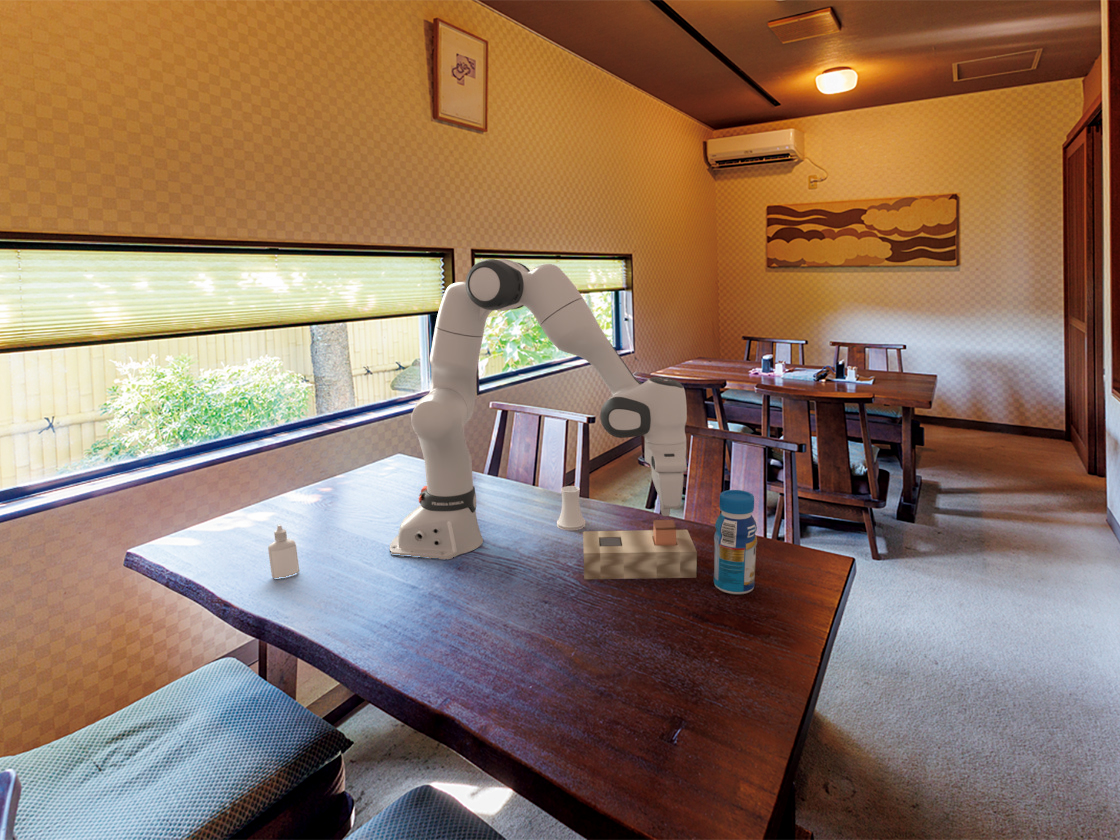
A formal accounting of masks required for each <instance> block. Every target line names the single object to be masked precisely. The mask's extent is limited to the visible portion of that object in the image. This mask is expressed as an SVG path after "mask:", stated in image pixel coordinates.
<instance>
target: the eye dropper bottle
mask: <svg viewBox="0 0 1120 840" xmlns="http://www.w3.org/2000/svg"><path fill="white" fill-rule="evenodd" d="M273 535H274V541H273V542H272V543H270V544H269V545H268V548H267V550H268V559H269V566H270V571H271V577H272V579H273V578H279V577H286V576H289V575H293V574H295V573H298V572H299V573H300V564H299V559H298V550H297V544H296V542H295V540H294V539H291V538H288V535H287V530H286V529H283V527H282V525H281V524H279V525H277V529H276V530H274V533H273ZM299 573H298V574H299Z"/></svg>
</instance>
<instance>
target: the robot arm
mask: <svg viewBox="0 0 1120 840" xmlns="http://www.w3.org/2000/svg"><path fill="white" fill-rule="evenodd" d="M563 271H564V270H562V269H561V268H560V267H558V265H555V264H553V263H547V264H545V263H543V264H541V265H538V266H535V267H534V268H533V269H532V270H531V269H529V268H528V267H527V266H526V265H524V264H523V263H521V262H517V261H513V260H509V259H504V258H503V259H502V258H501V259H500V258H499V259H494V258H488V259H483V260H481V261H479V262H477V263H475V264H474V265H473V266H472V267H471V268H470V269H469V271H468V273H467V274H466V278H465V281H457V282H454V283H451V284H449V285H448V286H447V288H446V289H445V291H444V293H443V296H442V300H441V302H440V304H439V309H438V313H437V315H436V316H437V317H436V321H435V326H434V331H433V337H432V343H431V350H430V355H429V364H430V368H431V371H430V373H431V374H430V375H431V376H430V377H431V378H430V379H431V381H430V382H431V383H430V390H429V392H428V394H426V395H425V396H423V397H421V398H420V399H419V400H418V401H417V402H416V405H415V406H414V408H413V410H412V413H411V417H410V424H411V427H412V429H413V432H414V434H416V435H417V438H418V441H419V446H420V448H421V452H422V455H423V461H424V469H425V479H426V481H425V482H426V485H424V486H423V487H422V489H420V493H419V495H418V496H419V497H418V503H419V505H418V506H417V507H416V508H414V510H412V511H411V512H410V513H408V515H407V516H406V517H404V519H403V520H402V521H401V523H400V526H399V530H398V535H396V536H395V537H394V538H393V539H392V541H391V543H390V546H389V552H390V551H391V553H392V554H400V555H411V556H420V557H429V558H428V559H431V558H439V559H438V560H445V559H447V560H451V559H453V557H454V558H456V557H457V556H459V555H462V554H467V553H469V552H472V551H474V550H476V549H478V548H479V547H481V545H483V543H484V539H483V536H482V533H481V531H480V527H479V522H478V517H477V512H476V511H477V492H476V487H475V486H474V481H473V480H474V479H473V463H472V456H471V455H472V454H471V453H470V452H469V448H468V446H467V441H466V438H465V437H466V436H465V425H466V424H467V423H468V422H469V421H470V420H471V418H472V417H473V413H474V411H475V403H476V402H475V401H476V390H477V374H478V373H477V371H478V365H479V359H480V354H481V349H482V342H483V338H484V333H485V327H486V324H487V323H486V322H487V319H488V317H489V315H490V314H491V313H493V311H498V312H506V311H510V310H516V309H520V308H523V307H526V308H527V309H528V310H529V311H530V312H531V313H532V315H533V316H534V318H535V319H536V321H537V323H538V324H539V326H540V328H541V330H542V331H543V333H544V334H545V335H546V337H547V338H548V339H549V340H550V342H551V343H552V344H553V345H554V346H555V348H557V350H559V351H562V352H564V353H567V354H571V355H574V356H576V357H579V358H582V359H583V360H585V361H586V362H588V363H589V364H590V365H591V366H592V367H593V368H594V370H595V371H596V373H597V374H598V375H599V377H600V378H601V380H602V381H603V382H604V384H605V385H606V387H607V388H608V390H609V391H610V392H611V395H612V396H610V397H609V398H608V399H607V400H606V401H605V402H604V403H603V404H602V407H601V409H600V412H599V416H600V417H599V418H600V422H601V425H602V428H603V429H604V430H605V431H606V432H607V434H609V435H611V436H612V437H614V438H618V439H626V438H634V437H635V438H636V437H640V436H641V437H642V436H643V438H644V461H645V463H647V464H649V465H650V470H651V479H652V482H653V486H654V487H655V491H656V492H657V495H658V498H659V511H660V513H661V515H662V517H668V516H670V515H671V509H675V510H676V509H680V507H681V504H682V501H683V500H682V499H683V489H684V488H683V487H684V472H687V466H688V465H687V434H686V431H685V428H686V424H687V419H688V416H687V413H688V411H687V395H686V390H685V388H684V385H682V383H680V382H679V381H678V380H676V379H674V378H669V377H664V376H652V377H649V378H647V380H645V381H644V382H641V381H640V380H639V379H638V378H636V377H635V375H634V374H633V373H632V372H631V370H630V368H629V367H628V366H627V365H626V363H625V362H624V360H623V359H622V357H621V356H620V354H619V353H618V352H617V350H616V348H615V347H614V345H612V343H611V342H610V340H609V338H608V337H607V336H606V334H605V333H604V331H603V330H602V328H601V327H600V324H599V322H598V321H597V319H596V318H595V315H594V314H593V313H592V312H593V311H591V309H590V307H589V306H588V303H587V302H586V300H585V299H584V297H583V296H582V294H581V293H580V291H579V290H578V288H577V287H576V286H575V284H574V283H573V282H572V280H571V279H570V278H569V277H568V276H567V275H566V274H565V273H564V272H563ZM393 548H394V549H393ZM391 553H390V554H391Z"/></svg>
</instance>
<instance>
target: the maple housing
mask: <svg viewBox="0 0 1120 840" xmlns="http://www.w3.org/2000/svg"><path fill="white" fill-rule="evenodd" d="M653 532H654V529H651V530H650V529H649V530H648V529H647V530H641V529H640V530H591V531H589V530H586V531H582V538H583V539H582V540H583V541H582V546H583V548H582V549H583V576H584V577H583V579H584V580H616V579H617V580H620V579H622V580H623V579H624V580H629V579H630V580H632V579H634V580H635V579H636V580H637V579H683V578H684V579H687V578H689V579H692V578H693V579H694V578H695V579H696V578H697V568H698V567H697V566H698V565H697V564H698V563H697V561H698V557H697V556H698V551H697V549H696V546H695V545H694V542H693V540H692V538H691V535H690V533H689V530H688V529H676V545H654V541H653ZM618 537H620V542H621V546H600V538H618Z"/></svg>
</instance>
